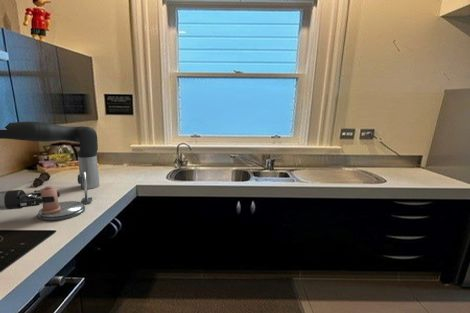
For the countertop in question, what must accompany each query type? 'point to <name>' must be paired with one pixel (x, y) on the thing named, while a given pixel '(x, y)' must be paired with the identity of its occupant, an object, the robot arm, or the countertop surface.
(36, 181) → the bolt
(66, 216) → the base
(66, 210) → the disc
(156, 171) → the countertop surface
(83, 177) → the dial gauge
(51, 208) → the cover
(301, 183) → the countertop surface
